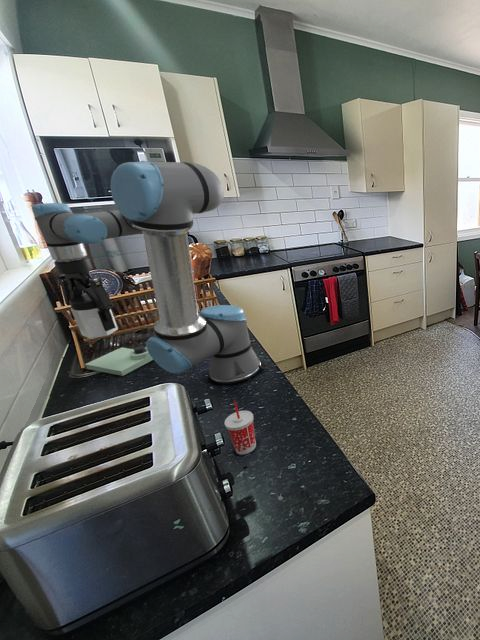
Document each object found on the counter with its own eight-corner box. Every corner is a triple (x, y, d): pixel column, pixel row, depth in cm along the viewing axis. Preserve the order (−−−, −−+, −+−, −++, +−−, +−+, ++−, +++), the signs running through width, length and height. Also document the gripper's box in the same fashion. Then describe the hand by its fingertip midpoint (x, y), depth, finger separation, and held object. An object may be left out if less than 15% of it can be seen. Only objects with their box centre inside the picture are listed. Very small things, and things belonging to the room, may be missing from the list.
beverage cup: (250, 435, 90) (240, 390, 84) (264, 445, 87) (254, 399, 81) (227, 449, 85) (214, 403, 79) (241, 460, 82) (229, 414, 76)
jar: (79, 341, 107) (63, 305, 102) (84, 330, 113) (70, 296, 108) (116, 334, 111) (103, 299, 106) (119, 325, 117) (107, 291, 112)
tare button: (148, 350, 120) (146, 346, 119) (140, 355, 118) (138, 350, 117) (141, 349, 121) (139, 345, 120) (133, 353, 118) (131, 349, 117)
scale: (158, 357, 122) (155, 348, 121) (122, 376, 111) (119, 366, 110) (124, 351, 125) (121, 342, 124) (86, 369, 114) (82, 360, 113)
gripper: (113, 258, 103) (137, 326, 112) (58, 252, 107) (85, 318, 117) (85, 265, 96) (113, 336, 106) (27, 258, 101) (59, 327, 110)
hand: (98, 327), depth 111 cm, fingers closed on jar, 9 cm apart
